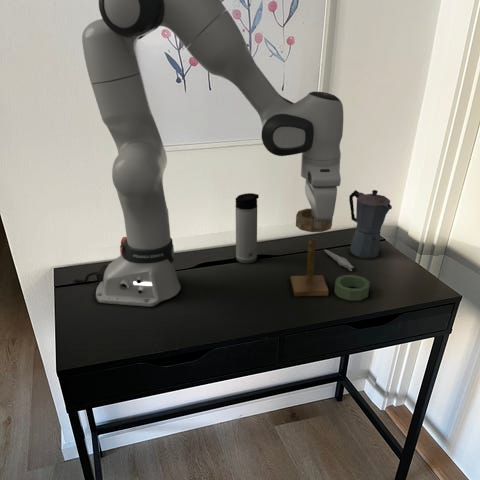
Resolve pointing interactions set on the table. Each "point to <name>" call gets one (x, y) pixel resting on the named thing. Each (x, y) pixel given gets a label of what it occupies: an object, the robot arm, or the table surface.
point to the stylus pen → (340, 260)
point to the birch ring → (310, 222)
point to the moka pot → (368, 223)
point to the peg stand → (309, 278)
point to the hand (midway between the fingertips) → (316, 224)
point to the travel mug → (246, 227)
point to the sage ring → (354, 293)
